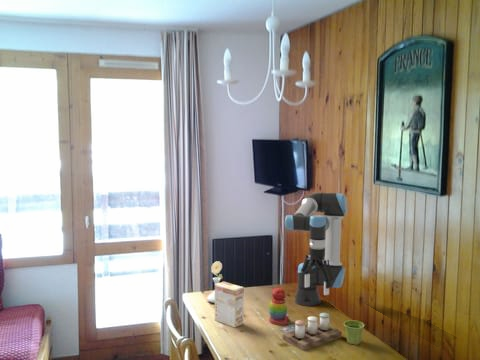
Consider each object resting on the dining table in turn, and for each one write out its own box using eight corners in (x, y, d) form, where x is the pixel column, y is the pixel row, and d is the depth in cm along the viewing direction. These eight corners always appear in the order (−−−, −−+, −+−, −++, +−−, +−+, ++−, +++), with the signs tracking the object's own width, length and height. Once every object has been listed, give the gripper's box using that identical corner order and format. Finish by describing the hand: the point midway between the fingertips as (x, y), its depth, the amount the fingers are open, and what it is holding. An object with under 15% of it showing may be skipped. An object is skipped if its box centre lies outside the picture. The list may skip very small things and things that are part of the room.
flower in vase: (204, 299, 266) (204, 258, 264) (222, 297, 270) (221, 256, 268) (212, 306, 254) (212, 263, 252) (230, 303, 258) (230, 261, 257)
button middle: (312, 329, 216) (312, 315, 215) (319, 332, 212) (319, 318, 211) (305, 331, 213) (305, 317, 213) (312, 335, 209) (312, 320, 209)
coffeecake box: (244, 324, 230) (244, 287, 228) (234, 328, 224) (234, 290, 223) (223, 316, 240) (223, 280, 238) (214, 320, 235) (214, 283, 233)
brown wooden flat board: (320, 327, 226) (320, 322, 225) (341, 336, 214) (341, 331, 214) (282, 339, 211) (282, 334, 211) (303, 350, 200) (303, 345, 200)
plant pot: (352, 348, 202) (353, 329, 202) (339, 340, 211) (339, 322, 210) (368, 343, 207) (368, 325, 206) (354, 336, 215) (354, 318, 214)
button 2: (324, 325, 220) (324, 312, 220) (331, 328, 217) (331, 315, 216) (317, 327, 218) (317, 314, 217) (324, 331, 214) (324, 317, 213)
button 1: (300, 333, 211) (300, 319, 211) (307, 336, 207) (307, 322, 207) (292, 335, 209) (292, 321, 208) (299, 339, 205) (299, 324, 204)
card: (299, 323, 231) (299, 322, 231) (307, 327, 226) (307, 325, 226) (278, 329, 223) (278, 328, 223) (286, 333, 218) (286, 332, 218)
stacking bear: (287, 326, 227) (287, 292, 226) (267, 324, 229) (267, 290, 228) (289, 318, 237) (289, 285, 236) (270, 316, 239) (270, 284, 238)
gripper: (294, 243, 223) (293, 285, 225) (330, 253, 202) (329, 299, 204) (305, 242, 227) (305, 282, 229) (341, 251, 206) (340, 296, 208)
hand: (316, 290), depth 216 cm, fingers open, 13 cm apart
